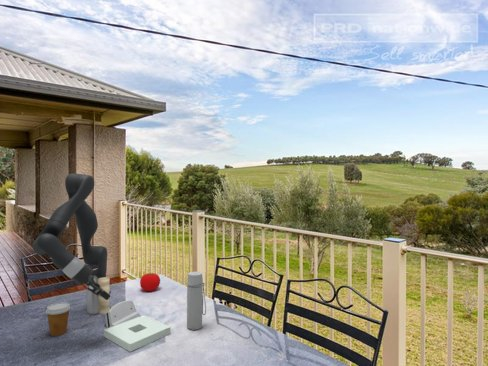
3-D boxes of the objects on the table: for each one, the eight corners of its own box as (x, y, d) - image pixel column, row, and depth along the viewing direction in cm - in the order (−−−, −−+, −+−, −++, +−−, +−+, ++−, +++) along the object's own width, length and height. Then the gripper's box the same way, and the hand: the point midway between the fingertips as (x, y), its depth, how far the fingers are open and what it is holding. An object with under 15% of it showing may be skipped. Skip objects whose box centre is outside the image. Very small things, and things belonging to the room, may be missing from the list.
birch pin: (96, 312, 138) (96, 279, 138) (106, 308, 142) (106, 276, 142) (101, 314, 136) (101, 281, 135) (111, 311, 139) (111, 278, 139)
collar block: (104, 336, 142) (104, 329, 142) (143, 321, 158) (143, 315, 158) (130, 351, 130) (130, 344, 130) (170, 333, 145) (170, 326, 145)
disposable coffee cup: (75, 329, 149) (75, 303, 148) (57, 339, 140) (57, 311, 139) (59, 326, 152) (59, 300, 152) (40, 335, 143) (40, 308, 143)
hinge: (114, 329, 149) (108, 308, 150) (107, 331, 151) (101, 309, 152) (140, 316, 164) (134, 296, 165) (133, 317, 166) (128, 298, 167)
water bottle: (189, 332, 147) (189, 276, 147) (184, 325, 154) (184, 272, 153) (208, 328, 151) (209, 274, 151) (202, 321, 158) (203, 269, 158)
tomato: (136, 292, 198) (136, 275, 198) (145, 286, 210) (145, 270, 210) (154, 293, 196) (155, 276, 196) (162, 287, 208) (162, 271, 208)
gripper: (82, 268, 129) (115, 294, 134) (86, 259, 142) (116, 284, 147) (67, 282, 127) (101, 309, 132) (72, 272, 141) (103, 297, 145)
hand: (108, 295), depth 139 cm, fingers closed on birch pin, 4 cm apart
